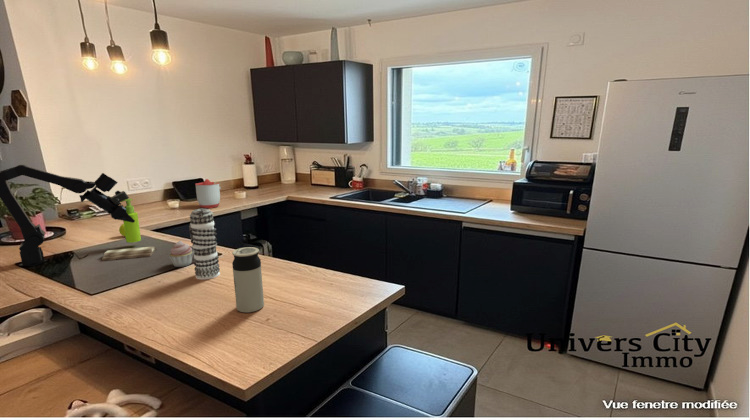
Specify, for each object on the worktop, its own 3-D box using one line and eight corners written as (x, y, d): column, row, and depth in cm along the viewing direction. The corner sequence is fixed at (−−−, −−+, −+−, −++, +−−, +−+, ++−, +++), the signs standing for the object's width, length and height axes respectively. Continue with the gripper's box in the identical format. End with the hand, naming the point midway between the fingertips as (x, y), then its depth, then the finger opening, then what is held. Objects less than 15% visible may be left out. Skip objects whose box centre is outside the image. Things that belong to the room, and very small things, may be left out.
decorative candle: (195, 272, 143) (187, 208, 138) (221, 269, 147) (215, 206, 141) (193, 281, 135) (185, 213, 130) (221, 277, 138) (214, 211, 133)
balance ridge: (102, 260, 158) (101, 255, 157) (111, 253, 167) (110, 248, 167) (150, 256, 163) (149, 251, 162) (156, 249, 172) (155, 244, 172)
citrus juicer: (228, 205, 272) (225, 178, 267) (206, 210, 257) (203, 180, 253) (214, 203, 280) (212, 176, 276) (192, 207, 265) (189, 179, 261)
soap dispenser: (121, 242, 175) (115, 199, 171) (136, 238, 181) (130, 197, 177) (128, 243, 172) (122, 200, 168) (143, 240, 178) (138, 198, 174)
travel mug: (266, 301, 119) (262, 246, 115) (260, 313, 111) (255, 255, 107) (241, 301, 119) (236, 247, 115) (232, 313, 111) (227, 255, 107)
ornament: (139, 234, 198) (137, 216, 196) (129, 238, 191) (126, 219, 189) (127, 234, 198) (124, 215, 196) (116, 238, 192) (113, 219, 189)
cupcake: (200, 261, 156) (198, 238, 154) (183, 269, 147) (180, 245, 145) (182, 259, 158) (179, 236, 156) (164, 267, 149) (161, 243, 147)
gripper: (116, 188, 162) (149, 210, 171) (112, 183, 176) (142, 204, 185) (97, 208, 158) (131, 229, 167) (93, 202, 172) (125, 222, 182)
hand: (133, 220), depth 175 cm, fingers closed on soap dispenser, 6 cm apart
